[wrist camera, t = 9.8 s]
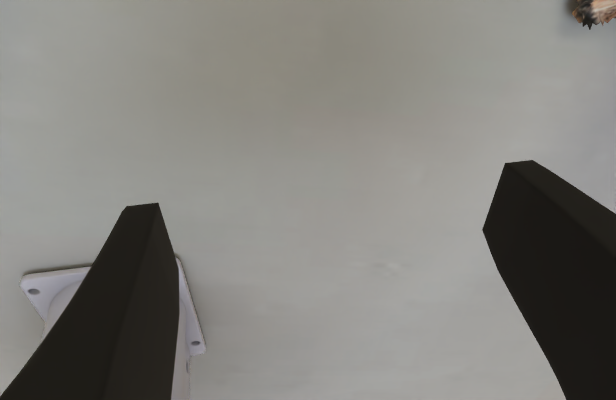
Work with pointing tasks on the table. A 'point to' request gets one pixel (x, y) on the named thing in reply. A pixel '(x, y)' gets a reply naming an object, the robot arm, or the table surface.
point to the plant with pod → (595, 11)
